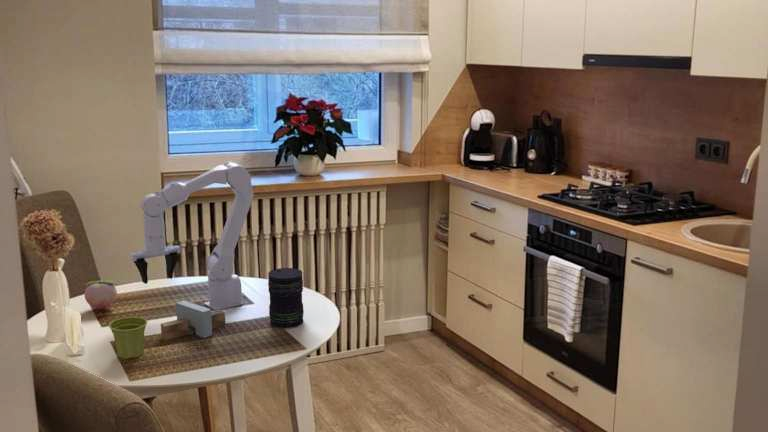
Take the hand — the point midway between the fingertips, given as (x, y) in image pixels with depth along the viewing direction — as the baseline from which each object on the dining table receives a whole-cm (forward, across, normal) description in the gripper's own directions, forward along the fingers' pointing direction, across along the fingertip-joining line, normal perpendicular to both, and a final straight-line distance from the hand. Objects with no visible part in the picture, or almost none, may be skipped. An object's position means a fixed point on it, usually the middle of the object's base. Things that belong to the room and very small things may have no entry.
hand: (157, 280), depth 227 cm
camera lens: (+11, -26, +30) cm, 41 cm away
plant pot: (+11, +18, +24) cm, 32 cm away
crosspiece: (+10, -2, +20) cm, 22 cm away
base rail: (+10, -2, +19) cm, 22 cm away
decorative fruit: (+11, +12, -15) cm, 22 cm away
